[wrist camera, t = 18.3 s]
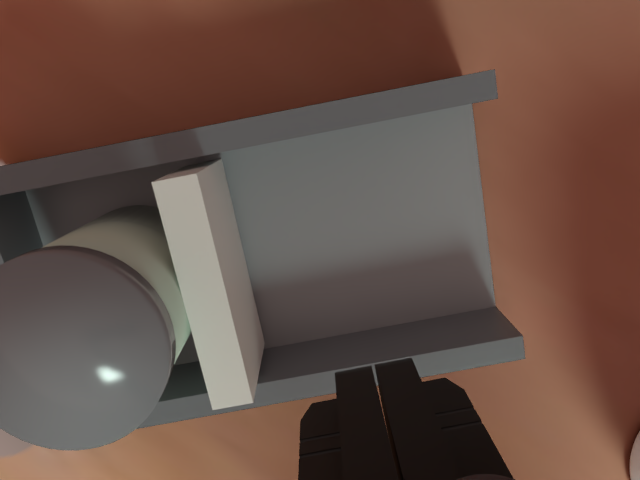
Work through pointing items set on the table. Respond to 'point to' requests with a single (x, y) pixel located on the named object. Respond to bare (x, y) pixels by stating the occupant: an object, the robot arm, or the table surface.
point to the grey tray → (315, 233)
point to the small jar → (89, 332)
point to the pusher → (213, 279)
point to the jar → (635, 459)
